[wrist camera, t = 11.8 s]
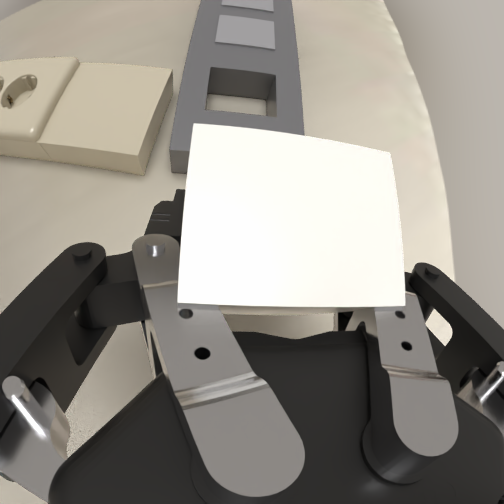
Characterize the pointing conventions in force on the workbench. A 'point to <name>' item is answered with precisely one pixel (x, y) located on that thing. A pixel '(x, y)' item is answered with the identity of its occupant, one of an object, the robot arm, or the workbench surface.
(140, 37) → the workbench surface
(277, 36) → the power strip
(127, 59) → the workbench surface
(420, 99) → the workbench surface
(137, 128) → the electrical outlet
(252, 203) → the block
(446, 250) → the workbench surface
